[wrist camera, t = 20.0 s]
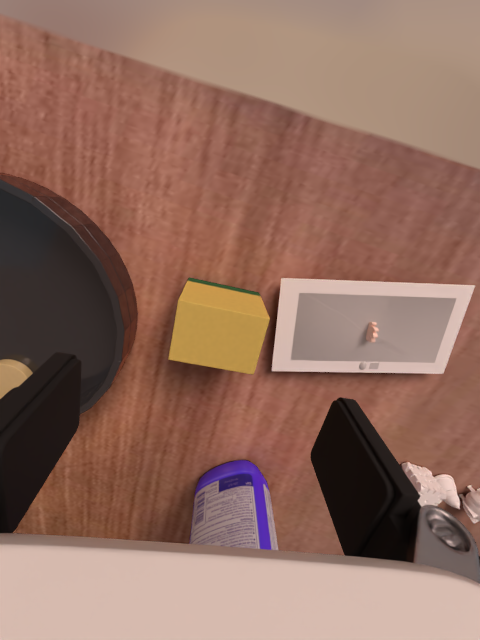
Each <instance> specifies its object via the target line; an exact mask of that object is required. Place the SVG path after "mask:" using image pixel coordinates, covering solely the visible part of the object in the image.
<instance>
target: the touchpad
mask: <svg viewBox="0 0 480 640" xmlns="http://www.w3.org/2000/svg"><path fill="white" fill-rule="evenodd" d="M474 287H475V285H452V284H426V283H400V282H374V281H348V280H322V279H296V278H281V286H280V296H279V305H278V315H277V324H276V334H275V343H274V352H273V362H272V371H297V372H363V373H428V374H443V373H444V370H445V368H446V365H447V362H448V359H449V357H450V354H451V351H452V348H453V345H454V343H455V340H456V337H457V334H458V332H459V329H460V326H461V323H462V320H463V318H464V315H465V312H466V309H467V307H468V304H469V301H470V298H471V296H472V293H473V290H474Z"/></svg>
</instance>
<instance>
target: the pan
mask: <svg viewBox="0 0 480 640" xmlns="http://www.w3.org/2000/svg"><path fill="white" fill-rule="evenodd" d="M137 314H138V313H137V303H136V297H135V292H134V288H133V284H132V281H131V279H130V276H129V274H128V271H127V269H126V267H125V265H124V263H123V261H122V259H121V257H120V255H119V253H118V252H117V251H116V249H115V248H114V246H113V245H112V243H111V242H110V240H109V239H108V238H107V237H106V235H105V234H104V233H103V232H102V231H101V230H100V229H99V227H98V226H97V225H96V224H95V223H94V222H93V221H92V220H91V219H90V218H88V217H87V216H86V215H85V214H84V213H83V212H82V211H81V210H79V209H78V208H77V207H75V206H74V205H73V204H71V203H70V202H69V201H67V200H66V199H64V198H63V197H61V196H59V195H57V194H56V193H54V192H52V191H51V190H49V189H47V188H45V187H43V186H40V185H38V184H36V183H34V182H31V181H29V180H26V179H23V178H20V177H16V176H13V175H10V174H5V173H0V360H3V359H11V360H16V361H19V362H21V363H23V364H24V365H26V366H27V367H28V368H29V369H30V370H31V371H32V372H33V373H34V372H35V371H36V370H37V369H38V368H39V367H40V366H41V365H42V364H43V363H45V362H46V361H47V360H48V359H49V358H50V357H51V356H52V355H53V354H54V353H56V352H61V353H67V354H74V355H76V357H77V359H78V360H81V391H80V414H82V413H83V412H85V411H87V410H88V409H90V408H91V407H93V406H94V404H95V403H96V402H97V401H98V400H99V399H100V398H101V397H102V396H103V395H104V393H105V392H106V391H107V390H108V389H109V388H110V387H111V385H112V383H113V382H114V380H115V379H116V377H117V375H118V374H119V372H120V371H121V369H122V367H123V365H124V363H125V361H126V359H127V357H128V355H129V353H130V351H131V348H132V346H133V343H134V340H135V335H136V330H137Z"/></svg>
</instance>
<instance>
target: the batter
mask: <svg viewBox="0 0 480 640" xmlns="http://www.w3.org/2000/svg"><path fill="white" fill-rule="evenodd" d="M32 374H33V372H32V371H31V370H30V369H29V368H28V367H27V366H26V365H24V364H23V363H21V362H19V361H16V360H11V359H3V360H0V399H1V398H2V397H3V396H4V395H5V394H6V393H8V392H9V391H10V390H11V389H13V388H15V387H19V386H20V385H21V384H22V383H23V382H24V381H25V380H26V379H27V378H28V377H29V376H31V375H32Z"/></svg>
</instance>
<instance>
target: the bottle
mask: <svg viewBox="0 0 480 640" xmlns="http://www.w3.org/2000/svg"><path fill="white" fill-rule="evenodd" d="M190 544H198V545H212V546H226V547H240V548H253V549H267V550H278V544H277V537H276V531H275V524H274V517H273V511H272V504H271V497H270V493H269V488H268V485H267V481H266V480H265V478H264V477H263V475H262V474H261V472H260V471H259V469H258V467H257V466H255V465H254V464H253V463H251V462H250V461H247V460H238V461H232V462H228V463H225V464H222V465H220V466H217V467H215V468H213V469H211V470H209V471H208V472H207V473H205V474H204V475H203V476H202V477H201V478H200V480H199V482H198V485H197V487H196V491H195V499H194V505H193V517H192V526H191V535H190Z"/></svg>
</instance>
